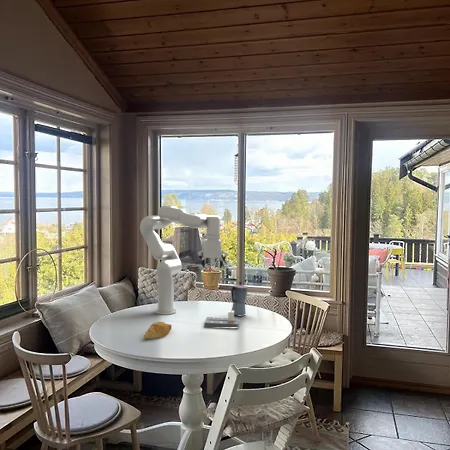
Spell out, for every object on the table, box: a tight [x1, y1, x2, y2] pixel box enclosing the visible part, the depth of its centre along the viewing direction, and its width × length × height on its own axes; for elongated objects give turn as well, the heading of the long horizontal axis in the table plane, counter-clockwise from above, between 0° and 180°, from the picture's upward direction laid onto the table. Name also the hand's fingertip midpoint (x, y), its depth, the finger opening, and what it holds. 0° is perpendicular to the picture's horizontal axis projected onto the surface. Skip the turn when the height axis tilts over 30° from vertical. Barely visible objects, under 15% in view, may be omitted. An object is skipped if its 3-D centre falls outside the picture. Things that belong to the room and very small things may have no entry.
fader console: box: [203, 316, 240, 328], centre depth 253 cm, size 12×18×3 cm, turn 86°
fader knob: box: [227, 309, 235, 322], centre depth 253 cm, size 4×3×7 cm
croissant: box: [143, 321, 173, 340], centre depth 232 cm, size 21×10×8 cm, turn 151°
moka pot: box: [230, 281, 249, 315], centre depth 275 cm, size 10×15×20 cm, turn 148°
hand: (212, 267), depth 261 cm, fingers open, 9 cm apart
